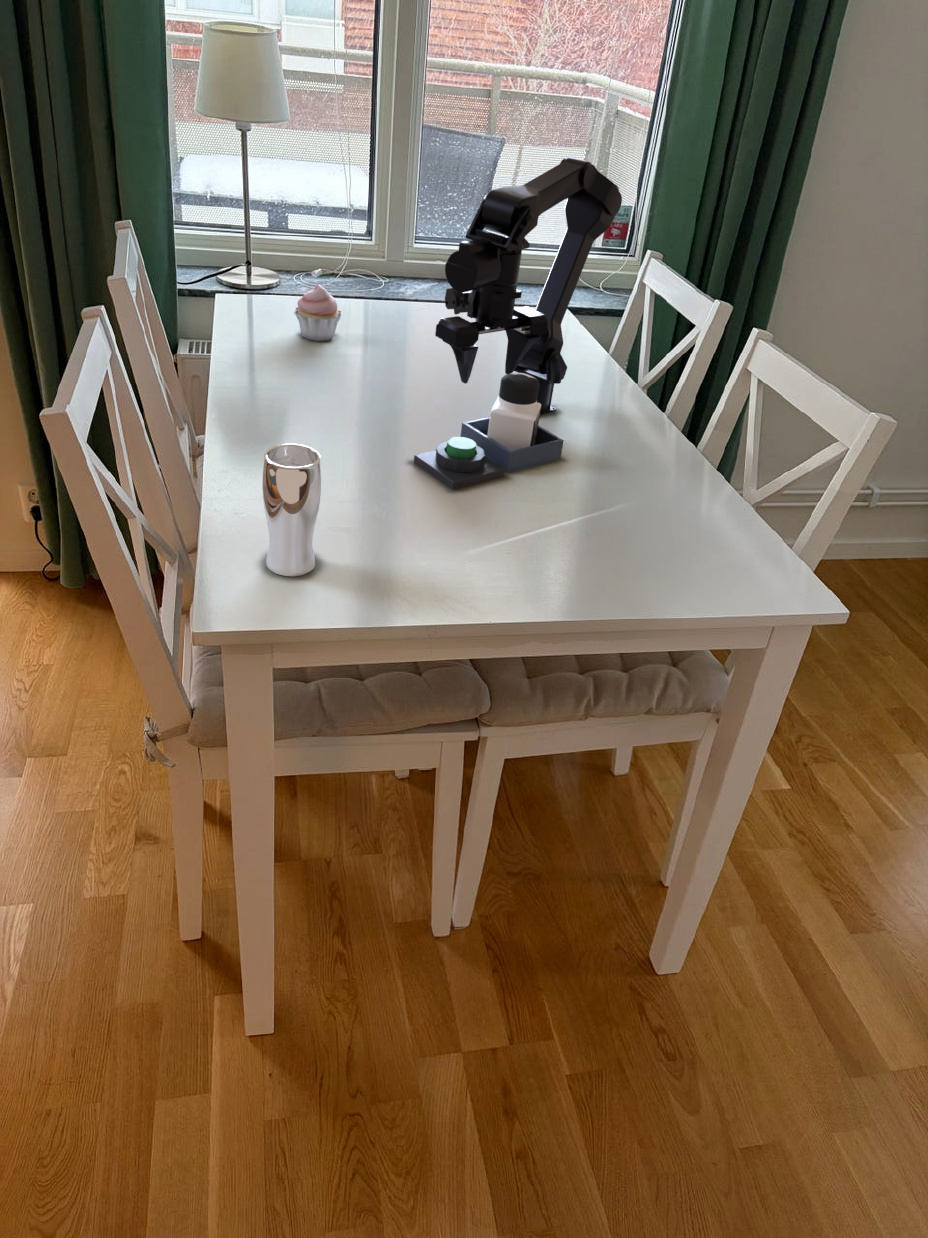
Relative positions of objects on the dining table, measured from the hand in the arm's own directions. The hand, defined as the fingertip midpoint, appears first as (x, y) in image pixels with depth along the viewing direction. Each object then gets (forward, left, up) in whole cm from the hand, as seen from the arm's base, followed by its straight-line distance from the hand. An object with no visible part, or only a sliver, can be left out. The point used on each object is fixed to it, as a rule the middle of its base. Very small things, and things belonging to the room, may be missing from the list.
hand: (486, 378), depth 160 cm
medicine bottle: (0, +8, -9) cm, 12 cm away
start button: (+12, +10, -6) cm, 17 cm away
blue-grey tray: (0, +8, -9) cm, 12 cm away
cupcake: (+2, -49, -9) cm, 50 cm away
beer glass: (+48, +22, -9) cm, 54 cm away
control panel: (+12, +10, -9) cm, 18 cm away
